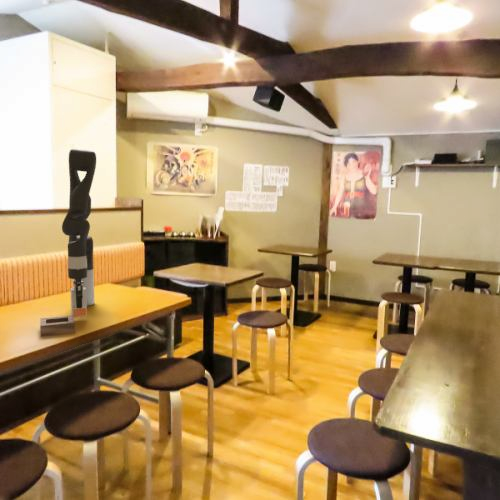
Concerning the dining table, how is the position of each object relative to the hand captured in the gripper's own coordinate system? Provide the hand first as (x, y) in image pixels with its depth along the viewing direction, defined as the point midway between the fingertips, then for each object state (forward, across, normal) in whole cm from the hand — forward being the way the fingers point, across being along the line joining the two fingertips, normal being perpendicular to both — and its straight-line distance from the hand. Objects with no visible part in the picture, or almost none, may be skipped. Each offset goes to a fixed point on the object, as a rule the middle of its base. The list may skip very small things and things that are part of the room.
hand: (78, 306), depth 184 cm
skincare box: (+5, 0, 0) cm, 5 cm away
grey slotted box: (+6, +10, -9) cm, 15 cm away
